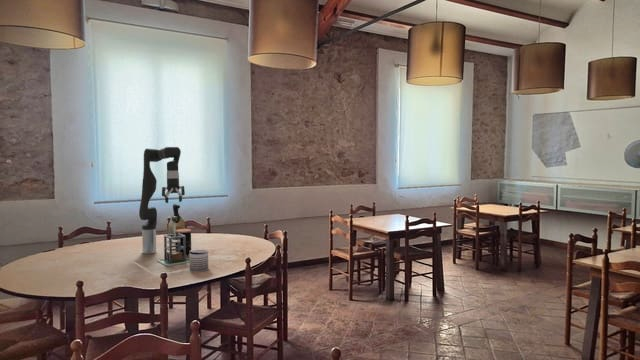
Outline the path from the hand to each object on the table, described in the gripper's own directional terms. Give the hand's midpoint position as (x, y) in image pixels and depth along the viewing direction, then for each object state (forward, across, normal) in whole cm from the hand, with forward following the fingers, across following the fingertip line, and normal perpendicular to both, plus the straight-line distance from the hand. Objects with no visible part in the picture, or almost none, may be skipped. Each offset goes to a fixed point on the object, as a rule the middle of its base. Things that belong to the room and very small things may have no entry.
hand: (173, 202), depth 282 cm
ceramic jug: (+39, -28, -70) cm, 84 cm away
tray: (+40, 0, 0) cm, 40 cm away
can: (+41, -6, +24) cm, 47 cm away
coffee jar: (+40, -12, -16) cm, 45 cm away
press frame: (+39, 0, 0) cm, 39 cm away
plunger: (+26, 0, 0) cm, 26 cm away
